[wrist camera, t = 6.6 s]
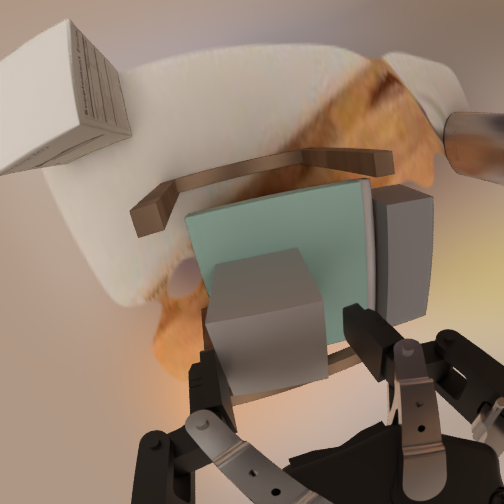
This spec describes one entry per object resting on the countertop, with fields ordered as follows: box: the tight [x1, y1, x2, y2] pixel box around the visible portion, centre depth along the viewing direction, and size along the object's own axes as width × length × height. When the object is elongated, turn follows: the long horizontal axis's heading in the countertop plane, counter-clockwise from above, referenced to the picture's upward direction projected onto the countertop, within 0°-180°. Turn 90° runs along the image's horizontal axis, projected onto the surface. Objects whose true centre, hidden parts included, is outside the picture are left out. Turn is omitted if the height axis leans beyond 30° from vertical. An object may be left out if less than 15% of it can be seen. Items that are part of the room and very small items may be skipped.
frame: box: [129, 148, 395, 406], centre depth 22 cm, size 14×15×12 cm
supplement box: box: [0, 18, 132, 176], centre depth 14 cm, size 7×7×13 cm
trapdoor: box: [184, 178, 434, 345], centre depth 18 cm, size 15×12×4 cm
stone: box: [205, 248, 328, 396], centre depth 15 cm, size 5×5×6 cm
